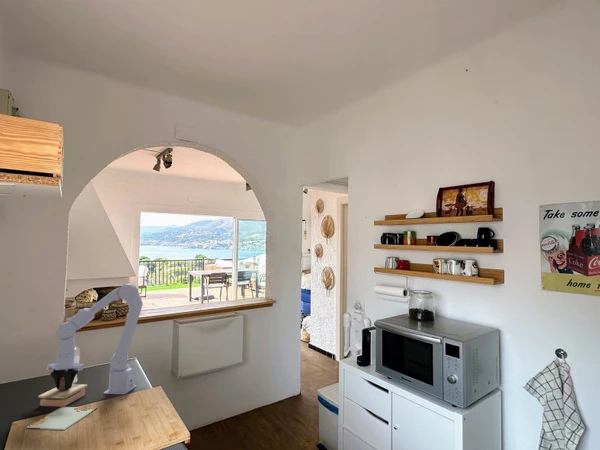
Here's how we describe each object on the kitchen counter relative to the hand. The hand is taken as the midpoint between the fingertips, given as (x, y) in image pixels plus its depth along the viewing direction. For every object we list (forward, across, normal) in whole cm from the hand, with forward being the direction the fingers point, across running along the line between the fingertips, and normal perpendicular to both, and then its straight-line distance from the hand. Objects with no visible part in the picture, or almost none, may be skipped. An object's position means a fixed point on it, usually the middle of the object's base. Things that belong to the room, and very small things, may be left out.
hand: (64, 388), depth 125 cm
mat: (+4, +12, -13) cm, 18 cm away
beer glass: (+4, -12, +16) cm, 21 cm away
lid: (+1, 0, 0) cm, 1 cm away
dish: (+4, 0, 0) cm, 4 cm away
